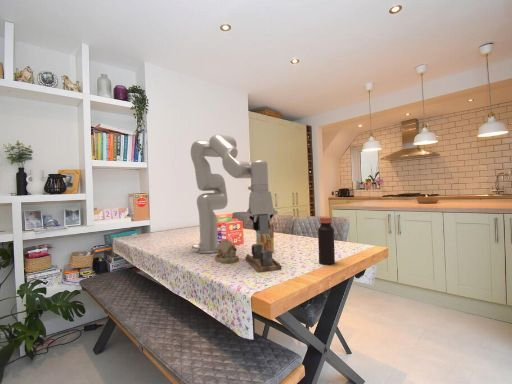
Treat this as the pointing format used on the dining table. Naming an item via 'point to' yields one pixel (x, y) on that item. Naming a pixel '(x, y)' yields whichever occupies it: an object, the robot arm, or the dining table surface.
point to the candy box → (266, 239)
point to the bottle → (326, 241)
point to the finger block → (262, 224)
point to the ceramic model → (226, 252)
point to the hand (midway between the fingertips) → (261, 229)
